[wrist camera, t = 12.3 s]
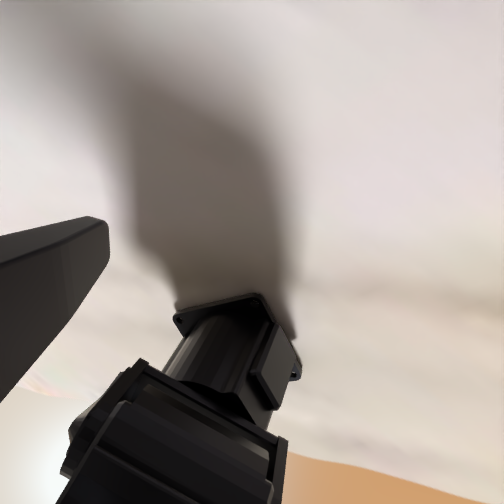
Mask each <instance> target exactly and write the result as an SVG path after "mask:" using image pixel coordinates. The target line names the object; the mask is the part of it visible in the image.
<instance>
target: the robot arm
mask: <svg viewBox="0 0 504 504" xmlns="http://www.w3.org/2000/svg"><path fill="white" fill-rule="evenodd" d="M109 258H110V243H109V227H108V224H107V223H106V222H105V221H104V220H101V219H97V218H94V217H90V216H85V217H81V218H76V219H72V220H68V221H63V222H59V223H54V224H50V225H46V226H41V227H37V228H33V229H28V230H24V231H20V232H15V233H11V234H7V235H2V236H0V403H1V401H2V400H3V399H4V398H5V397H6V396H7V394H8V393H9V392H10V391H11V390H12V389H13V387H14V386H15V385H16V384H17V383H18V381H19V380H20V379H21V378H22V377H23V375H24V374H25V373H26V372H27V371H28V369H29V368H30V367H31V366H32V365H33V364H34V362H35V361H36V360H37V359H38V358H39V356H40V355H41V354H42V353H43V352H44V350H45V349H46V348H47V347H48V346H49V345H50V343H51V342H52V341H53V340H54V339H55V337H56V336H57V335H58V334H59V333H60V331H61V330H62V329H63V328H64V327H65V325H66V324H67V323H68V322H69V320H70V319H71V318H72V316H73V315H74V313H75V312H76V311H77V309H78V308H79V306H80V305H81V303H82V302H83V300H84V299H85V297H86V296H87V294H88V293H89V291H90V290H91V288H92V287H93V285H94V284H95V282H96V281H97V279H98V278H99V276H100V275H101V273H102V272H103V270H104V269H105V267H106V266H107V264H108V261H109ZM253 301H257V302H258V303H259V304H256V303H254V302H253ZM180 318H182V319H183V320H182V319H180ZM173 322H174V323H175V325H176V326H177V328H178V330H179V331H180V333H181V334H182V336H183V339H182V340H181V342H180V344H179V345H178V347H177V348H176V350H175V351H174V353H173V354H172V356H171V357H170V359H169V361H168V362H167V364H166V365H165V367H164V368H163V370H162V371H159V370H157V369H156V368H154V367H152V366H150V365H149V362H147V361H145V360H143V359H141V358H139V359H138V361H137V362H136V363H135V364H134V365H133V366H132V368H130V367H128V368H127V369H126V370H125V371H124V372H120V373H119V374H118V376H117V377H116V378H115V380H114V381H113V382H112V384H111V385H110V386H109V388H108V389H107V390H106V392H105V393H104V394H103V395H102V396H101V397H100V398H99V399H98V400H97V401H96V402H94V403H93V404H92V405H91V406H90V407H88V408H87V409H86V410H85V411H84V412H83V413H81V414H80V415H79V416H78V417H77V418H76V419H75V420H74V421H73V422H72V424H71V426H70V427H69V429H68V432H69V439H70V446H69V448H68V450H67V453H66V458H65V460H64V462H63V464H62V467H61V469H60V474H61V475H63V476H65V477H66V478H68V479H70V480H69V482H68V484H67V485H66V487H65V489H64V490H63V492H62V494H61V495H60V497H59V499H58V500H57V502H56V504H281V501H282V493H283V484H284V475H285V465H286V457H287V449H288V440H286V439H284V438H282V437H280V436H278V437H277V436H275V435H273V434H271V433H270V432H268V431H266V430H267V427H268V424H269V421H270V418H271V415H272V412H273V411H275V410H278V409H279V408H280V406H281V403H282V400H283V397H284V394H285V391H286V388H287V384H288V382H289V381H297V380H299V379H300V378H301V375H302V369H301V367H300V365H299V363H298V361H297V359H296V354H295V352H294V350H293V348H292V347H291V345H290V343H289V341H288V339H287V337H286V335H285V333H284V331H283V330H282V328H281V326H280V325H279V324H278V323H277V322H276V320H275V318H274V316H273V314H272V312H271V310H270V308H269V307H268V305H267V303H266V301H265V299H264V298H263V296H262V295H260V294H258V293H251V294H247V295H243V296H239V297H234V298H230V299H226V300H221V301H217V302H213V303H208V304H204V305H200V306H195V307H191V308H187V309H183V310H178V311H177V312H176V313H175V314H174V316H173ZM293 372H295V373H293Z"/></svg>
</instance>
